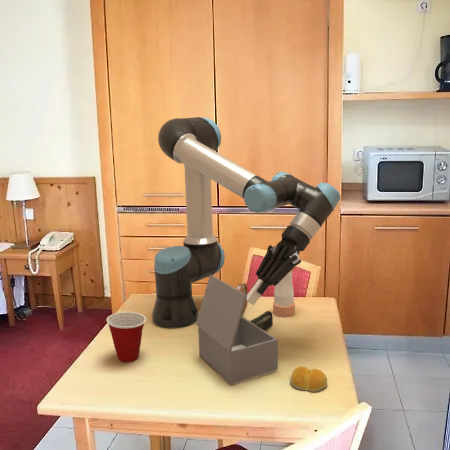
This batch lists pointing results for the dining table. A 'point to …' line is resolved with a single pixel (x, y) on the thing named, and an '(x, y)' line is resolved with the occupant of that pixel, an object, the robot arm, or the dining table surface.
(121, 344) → the plastic cup
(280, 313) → the salt shaker
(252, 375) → the box
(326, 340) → the dining table surface
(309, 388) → the bread roll
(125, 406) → the dining table surface
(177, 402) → the dining table surface
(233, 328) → the box lid
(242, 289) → the tin
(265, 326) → the black elongated piece
